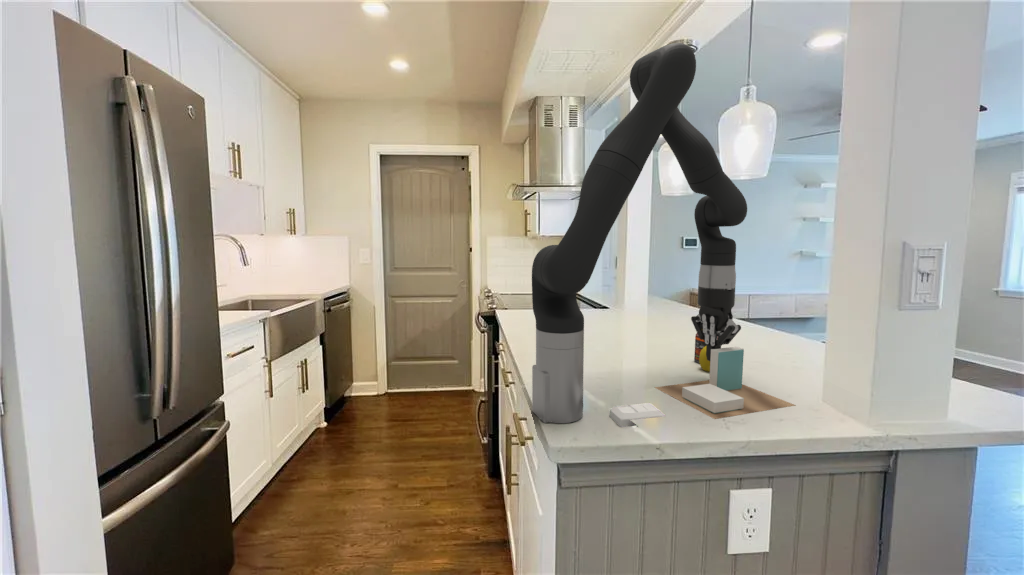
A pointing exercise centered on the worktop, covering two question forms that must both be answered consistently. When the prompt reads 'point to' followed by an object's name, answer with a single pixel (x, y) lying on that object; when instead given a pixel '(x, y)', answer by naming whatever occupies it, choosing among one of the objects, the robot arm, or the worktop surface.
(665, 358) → the worktop surface
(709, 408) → the tile near
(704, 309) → the robot arm
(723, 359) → the tile far
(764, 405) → the board
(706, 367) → the lemon
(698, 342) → the supplement bottle
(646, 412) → the white light switch
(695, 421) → the worktop surface
